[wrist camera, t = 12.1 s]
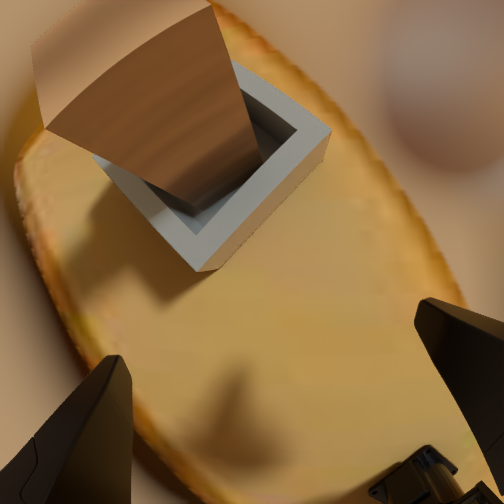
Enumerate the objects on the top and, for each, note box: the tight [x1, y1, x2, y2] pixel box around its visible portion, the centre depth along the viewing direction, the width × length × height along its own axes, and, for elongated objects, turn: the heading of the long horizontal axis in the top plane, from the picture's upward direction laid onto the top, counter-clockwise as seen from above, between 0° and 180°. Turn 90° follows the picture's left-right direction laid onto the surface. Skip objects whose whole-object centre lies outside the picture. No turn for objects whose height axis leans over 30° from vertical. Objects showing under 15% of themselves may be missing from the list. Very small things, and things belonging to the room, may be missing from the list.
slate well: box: [92, 59, 332, 272], centre depth 16 cm, size 9×9×5 cm
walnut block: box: [31, 0, 263, 211], centre depth 11 cm, size 4×4×13 cm
